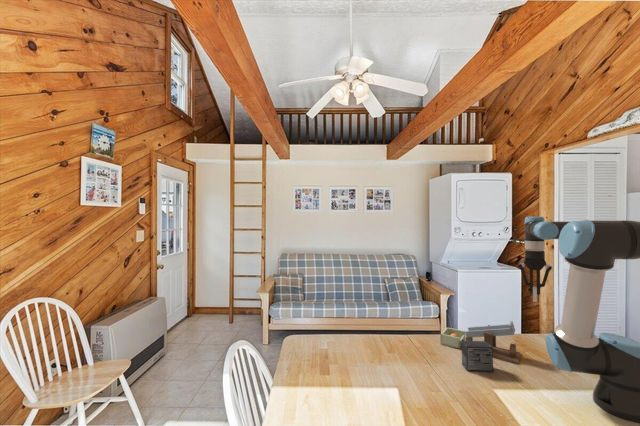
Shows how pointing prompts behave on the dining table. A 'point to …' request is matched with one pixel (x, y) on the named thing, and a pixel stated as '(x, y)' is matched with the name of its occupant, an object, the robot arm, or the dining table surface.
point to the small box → (477, 356)
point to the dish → (452, 338)
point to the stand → (500, 349)
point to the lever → (491, 330)
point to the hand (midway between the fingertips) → (535, 301)
